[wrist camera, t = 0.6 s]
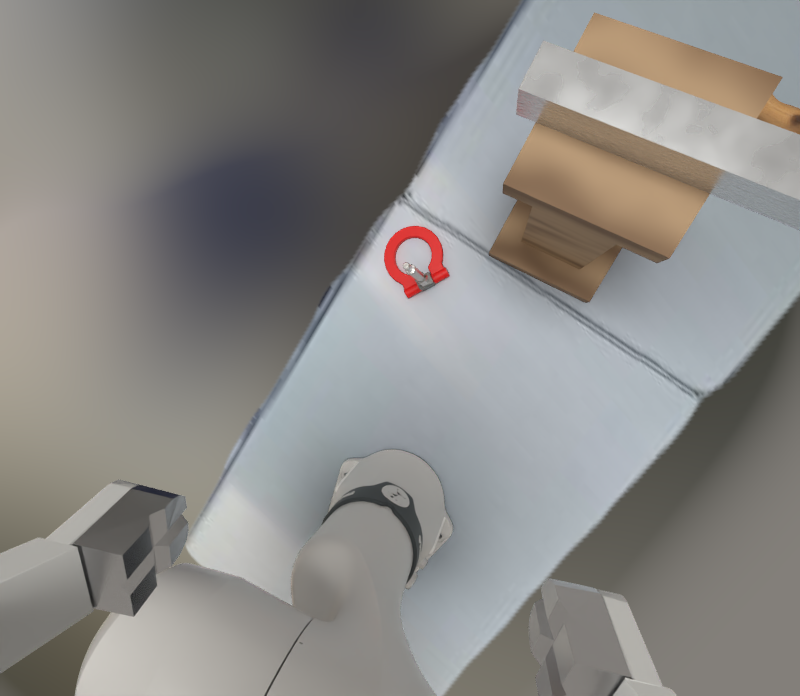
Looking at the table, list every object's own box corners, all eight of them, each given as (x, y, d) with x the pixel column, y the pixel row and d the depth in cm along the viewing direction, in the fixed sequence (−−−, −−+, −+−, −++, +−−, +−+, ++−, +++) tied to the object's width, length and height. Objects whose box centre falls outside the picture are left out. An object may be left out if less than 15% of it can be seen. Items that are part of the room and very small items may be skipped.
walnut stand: (585, 302, 51) (675, 279, 25) (489, 255, 53) (483, 191, 28) (646, 202, 48) (810, 66, 23) (542, 157, 51) (588, -8, 26)
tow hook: (377, 246, 57) (404, 302, 56) (342, 219, 45) (376, 290, 44) (427, 217, 55) (456, 274, 55) (406, 180, 43) (443, 253, 42)
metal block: (853, 252, 23) (904, 241, 20) (516, 114, 27) (518, 88, 24) (886, 205, 23) (943, 187, 20) (538, 71, 27) (543, 40, 24)
